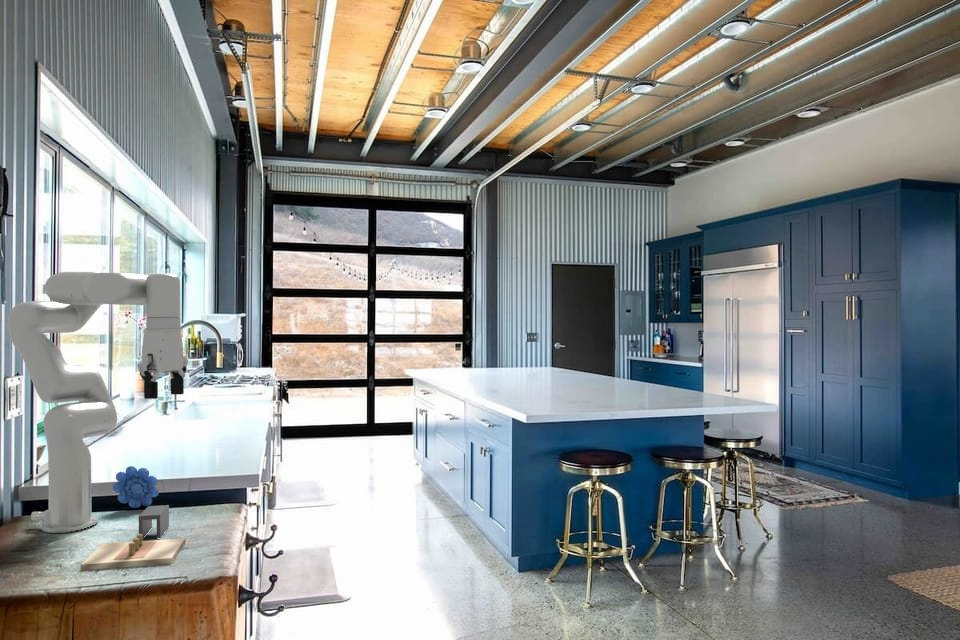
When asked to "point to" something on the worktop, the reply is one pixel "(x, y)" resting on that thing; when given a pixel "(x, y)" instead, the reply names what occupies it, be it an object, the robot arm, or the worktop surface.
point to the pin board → (134, 553)
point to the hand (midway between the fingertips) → (164, 396)
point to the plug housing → (154, 513)
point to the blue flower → (135, 487)
